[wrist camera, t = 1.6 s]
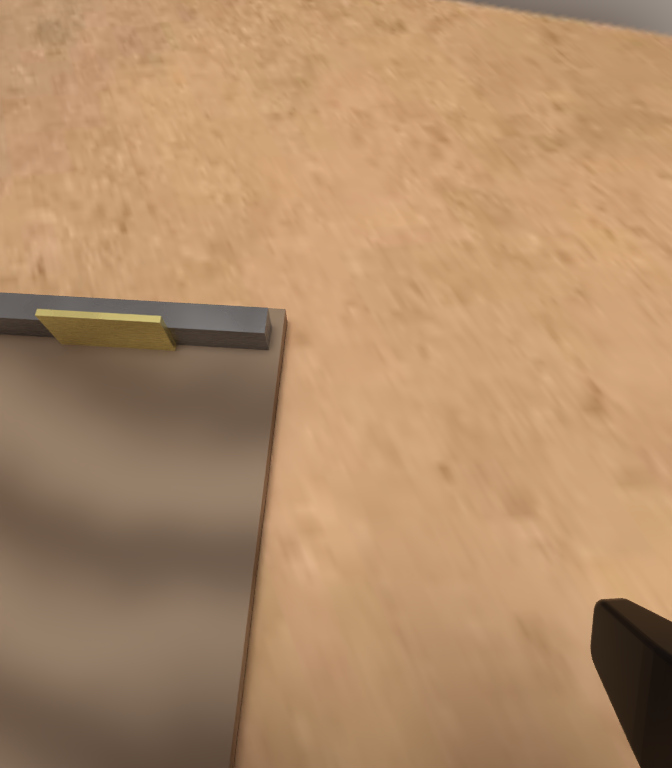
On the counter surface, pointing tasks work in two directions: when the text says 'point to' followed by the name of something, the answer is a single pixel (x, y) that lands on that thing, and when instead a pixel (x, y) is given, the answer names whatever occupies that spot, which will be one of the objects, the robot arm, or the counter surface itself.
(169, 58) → the counter surface
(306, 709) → the counter surface
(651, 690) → the robot arm
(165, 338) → the price rail
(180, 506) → the shelf board
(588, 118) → the counter surface
